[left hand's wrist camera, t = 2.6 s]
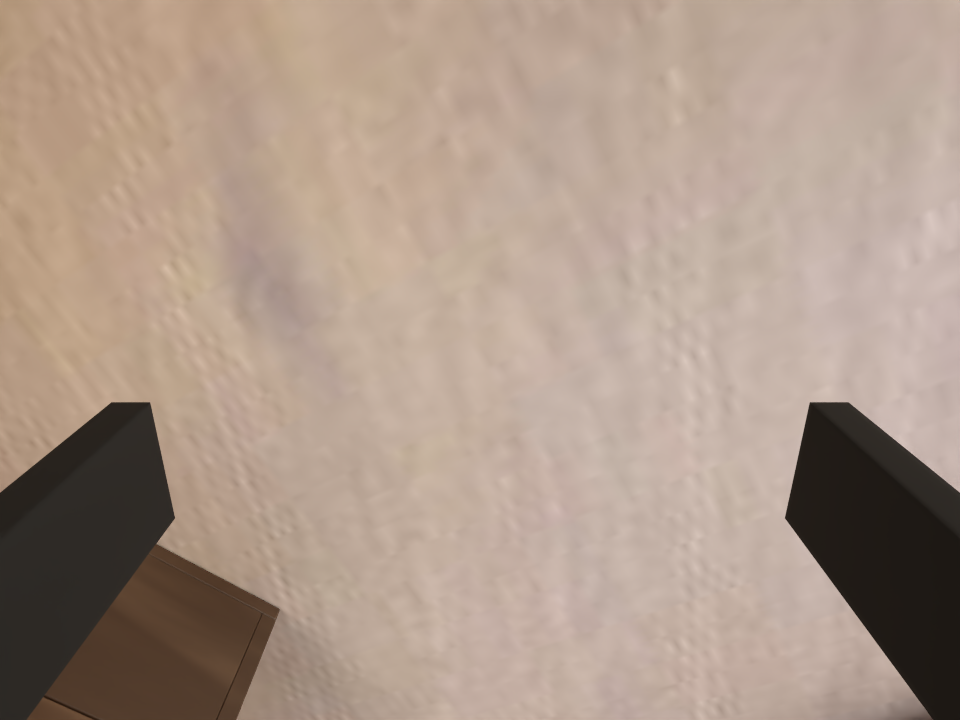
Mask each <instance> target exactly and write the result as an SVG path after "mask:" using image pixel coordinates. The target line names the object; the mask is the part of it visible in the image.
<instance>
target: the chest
mask: <svg viewBox="0 0 960 720" xmlns="http://www.w3.org/2000/svg"><path fill="white" fill-rule="evenodd" d="M278 613H279V609H278V608H277V607H275V606H273V605H271V604H269V603H267V602H265V601H263V600H261V599H259V598H257V597H256V596H254V595H252V594H250V593H248V592H246V591H244V590H242V589H240V588H238V587H236V586H235V585H233V584H231V583H229V582H227V581H225V580H223V579H221V578H219V577H217V576H215V575H214V574H212V573H210V572H208V571H206V570H204V569H202V568H200V567H198V566H196V565H195V564H193V563H191V562H189V561H187V560H185V559H183V558H181V557H179V556H177V555H175V554H174V553H172V552H170V551H168V550H166V549H164V548H162V547H160V546H158V545H155V546H154V547H153V549H152V550H151V551H150V553H149V554H148V555H147V557H146V558H145V559H144V561H143V562H142V564H141V565H140V566H139V568H138V569H137V570H136V572H135V573H134V574H133V576H132V577H131V579H130V580H129V581H128V583H127V584H126V585H125V587H124V588H123V589H122V591H121V592H120V593H119V595H118V596H117V598H116V599H115V600H114V602H113V603H112V604H111V606H110V607H109V608H108V610H107V611H106V612H105V614H104V615H103V617H102V618H101V619H100V621H99V622H98V623H97V625H96V626H95V627H94V629H93V630H92V632H91V633H90V634H89V636H88V637H87V638H86V640H85V641H84V642H83V644H82V645H81V646H80V648H79V649H78V651H77V652H76V653H75V655H74V656H73V657H72V659H71V660H70V661H69V663H68V664H67V665H66V667H65V668H64V670H63V671H62V672H61V674H60V675H59V676H58V678H57V679H56V680H55V682H54V683H53V684H52V686H51V687H50V689H49V690H48V691H47V693H46V694H45V695H44V698H47V699H49V700H51V701H53V702H56V703H58V704H60V705H62V706H64V707H67V708H69V709H71V710H73V711H76V712H78V713H80V714H82V715H84V716H87V717H89V718H91V719H93V720H236V719H237V716H238V714H239V711H240V709H241V706H242V704H243V701H244V699H245V696H246V694H247V691H248V689H249V686H250V684H251V681H252V679H253V676H254V674H255V671H256V669H257V666H258V664H259V661H260V659H261V656H262V654H263V651H264V649H265V646H266V644H267V641H268V639H269V636H270V634H271V631H272V629H273V626H274V624H275V620H276V618H277V616H278Z"/></svg>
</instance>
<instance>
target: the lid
mask: <svg viewBox="0 0 960 720" xmlns="http://www.w3.org/2000/svg"><path fill="white" fill-rule="evenodd" d="M27 720H93V719H91V718H89V717H87V716H84V715H82V714H80V713H78V712H76V711H73V710H71V709H69V708H67V707H64V706H62V705H60V704H58V703H56V702H53V701H51V700H49V699H47V698H44V697H43V698H42V699H41V701H40V702H39V704H38V705H37V706H36V708H35V709H34V710H33V712H32V713H31V714H30V716H29V717H28V718H27Z"/></svg>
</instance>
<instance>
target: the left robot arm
mask: <svg viewBox="0 0 960 720" xmlns="http://www.w3.org/2000/svg"><path fill="white" fill-rule="evenodd" d="M174 519H175V516H174V512H173V507H172V502H171V498H170V493H169V488H168V484H167V479H166V474H165V470H164V465H163V460H162V456H161V451H160V446H159V442H158V437H157V432H156V428H155V423H154V418H153V414H152V409H151V405H150V402H112V403H110V404H109V405H108V406H107V407H105V408H104V409H103V410H102V411H100V412H99V413H98V414H97V415H96V416H94V417H93V418H92V419H91V420H89V421H88V422H87V423H86V424H84V425H83V426H82V427H81V428H79V429H78V430H77V431H76V432H75V433H73V434H72V435H71V436H70V437H68V438H67V439H66V440H65V441H63V442H62V443H61V444H60V445H59V446H57V447H56V448H55V449H54V450H52V451H51V452H50V453H49V454H47V455H46V456H45V457H44V458H43V459H41V460H40V461H39V462H38V463H36V464H35V465H34V466H33V467H31V468H30V469H29V470H28V471H26V472H25V473H24V474H23V475H22V476H20V477H19V478H18V479H17V480H15V481H14V482H13V483H12V484H10V485H9V486H8V487H7V488H6V489H4V490H3V491H2V492H1V493H0V720H27V718H28V717H29V716H30V714H31V713H32V712H33V710H34V709H35V708H36V706H37V705H38V704H39V702H40V701H41V699H42V698H43V697H44V695H45V694H46V693H47V691H48V690H49V689H50V687H51V686H52V684H53V683H54V682H55V680H56V679H57V678H58V676H59V675H60V674H61V672H62V671H63V670H64V668H65V667H66V665H67V664H68V663H69V661H70V660H71V659H72V657H73V656H74V655H75V653H76V652H77V651H78V649H79V648H80V646H81V645H82V644H83V642H84V641H85V640H86V638H87V637H88V636H89V634H90V633H91V632H92V630H93V629H94V627H95V626H96V625H97V623H98V622H99V621H100V619H101V618H102V617H103V615H104V614H105V612H106V611H107V610H108V608H109V607H110V606H111V604H112V603H113V602H114V600H115V599H116V598H117V596H118V595H119V593H120V592H121V591H122V589H123V588H124V587H125V585H126V584H127V583H128V581H129V580H130V579H131V577H132V576H133V574H134V573H135V572H136V570H137V569H138V568H139V566H140V565H141V564H142V562H143V561H144V559H145V558H146V557H147V555H148V554H149V553H150V551H151V550H152V549H153V547H154V546H155V545H156V543H157V542H158V540H159V539H160V538H161V536H162V535H163V534H164V532H165V531H166V530H167V528H168V527H169V526H170V524H171V523H172V521H173V520H174ZM785 519H786V520H787V521H788V523H789V524H790V526H791V527H792V528H793V530H794V531H795V532H796V534H797V535H798V536H799V538H800V539H801V540H802V542H803V543H804V545H805V546H806V547H807V549H808V550H809V551H810V553H811V554H812V555H813V557H814V558H815V559H816V561H817V562H818V564H819V565H820V566H821V568H822V569H823V570H824V572H825V573H826V574H827V576H828V577H829V579H830V580H831V581H832V583H833V584H834V585H835V587H836V588H837V589H838V591H839V592H840V593H841V595H842V596H843V598H844V599H845V600H846V602H847V603H848V604H849V606H850V607H851V608H852V610H853V611H854V612H855V614H856V615H857V617H858V618H859V619H860V621H861V622H862V623H863V625H864V626H865V627H866V629H867V630H868V632H869V633H870V634H871V636H872V637H873V638H874V640H875V641H876V642H877V644H878V645H879V646H880V648H881V649H882V651H883V652H884V653H885V655H886V656H887V657H888V659H889V660H890V661H891V663H892V664H893V665H894V667H895V668H896V670H897V671H898V672H899V674H900V675H901V676H902V678H903V679H904V680H905V682H906V683H907V685H908V686H909V687H910V689H911V690H912V691H913V693H914V694H915V695H916V697H917V698H918V699H919V701H920V702H921V704H922V705H923V706H924V708H925V709H926V710H927V712H928V713H929V714H930V716H931V717H932V718H933V720H960V493H959V492H958V491H957V490H956V489H954V488H953V487H952V486H951V485H950V484H948V483H947V482H946V481H945V480H943V479H942V478H941V477H940V476H938V475H937V474H936V473H935V472H934V471H932V470H931V469H930V468H929V467H927V466H926V465H925V464H924V463H922V462H921V461H920V460H919V459H917V458H916V457H915V456H914V455H913V454H911V453H910V452H909V451H908V450H906V449H905V448H904V447H903V446H901V445H900V444H899V443H898V442H897V441H895V440H894V439H893V438H892V437H890V436H889V435H888V434H887V433H885V432H884V431H883V430H882V429H881V428H879V427H878V426H877V425H876V424H874V423H873V422H872V421H871V420H869V419H868V418H867V417H866V416H864V415H863V414H862V413H861V412H860V411H858V410H857V409H856V408H855V407H853V406H852V405H851V404H850V403H848V402H810V405H809V409H808V414H807V418H806V423H805V428H804V432H803V437H802V442H801V446H800V451H799V456H798V460H797V465H796V470H795V474H794V479H793V484H792V488H791V493H790V498H789V502H788V507H787V512H786V516H785Z"/></svg>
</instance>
